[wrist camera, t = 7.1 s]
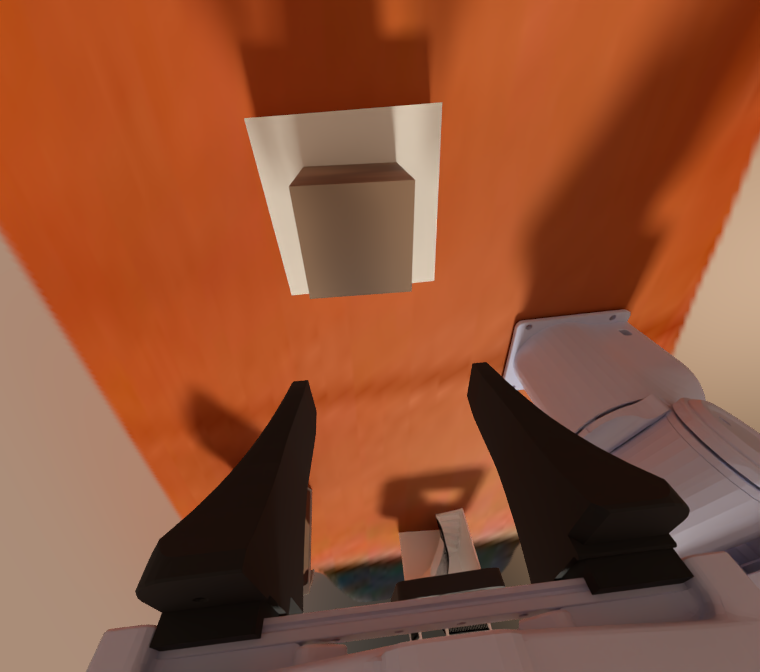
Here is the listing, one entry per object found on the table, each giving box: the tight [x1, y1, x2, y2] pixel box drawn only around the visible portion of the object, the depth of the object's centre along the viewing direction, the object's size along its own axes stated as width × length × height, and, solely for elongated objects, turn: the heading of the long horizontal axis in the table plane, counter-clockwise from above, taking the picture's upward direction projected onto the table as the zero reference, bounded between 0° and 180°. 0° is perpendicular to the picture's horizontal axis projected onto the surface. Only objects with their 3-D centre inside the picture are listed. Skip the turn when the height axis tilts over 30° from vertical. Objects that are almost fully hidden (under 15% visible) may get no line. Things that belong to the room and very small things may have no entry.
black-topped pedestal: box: [391, 508, 505, 641], centre depth 41 cm, size 28×26×13 cm
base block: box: [244, 102, 442, 295], centre depth 18 cm, size 9×9×3 cm
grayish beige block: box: [289, 162, 415, 299], centre depth 14 cm, size 5×5×5 cm
